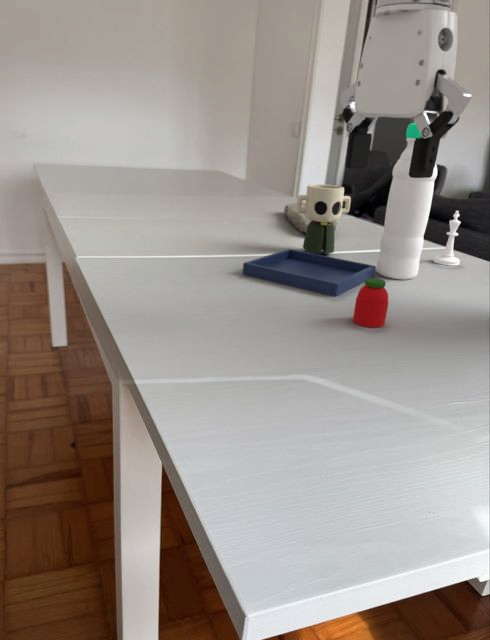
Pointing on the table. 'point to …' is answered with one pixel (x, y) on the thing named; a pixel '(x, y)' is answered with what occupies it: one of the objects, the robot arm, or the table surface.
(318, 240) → the character mug
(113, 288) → the table surface
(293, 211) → the elongated rock
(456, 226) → the chess piece
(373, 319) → the red sauce bottle
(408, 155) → the water bottle
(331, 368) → the table surface
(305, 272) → the tray
